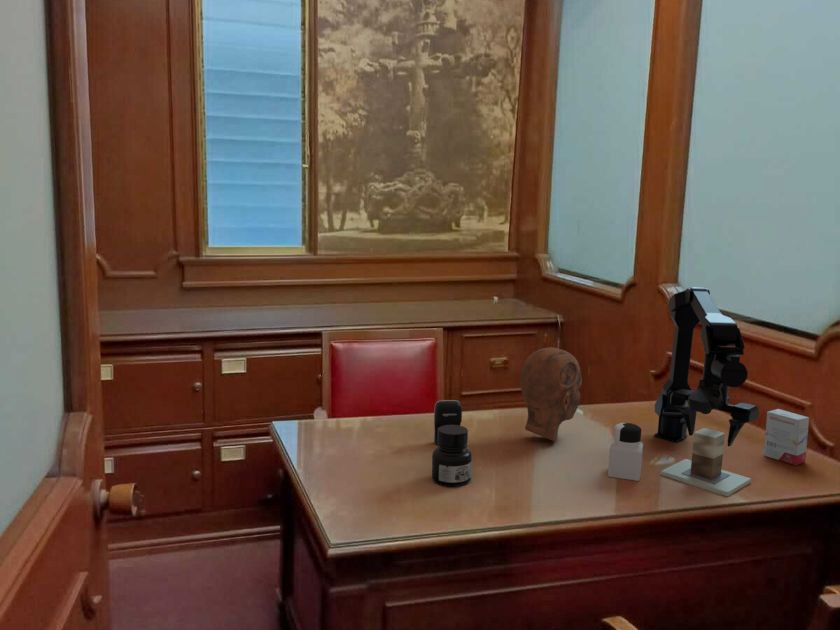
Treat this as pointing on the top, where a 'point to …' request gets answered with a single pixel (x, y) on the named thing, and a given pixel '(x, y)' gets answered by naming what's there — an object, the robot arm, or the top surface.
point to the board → (720, 484)
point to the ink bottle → (451, 456)
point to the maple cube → (708, 443)
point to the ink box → (786, 436)
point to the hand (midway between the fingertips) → (709, 440)
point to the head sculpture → (550, 390)
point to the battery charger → (446, 415)
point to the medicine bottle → (626, 452)
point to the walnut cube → (706, 466)
